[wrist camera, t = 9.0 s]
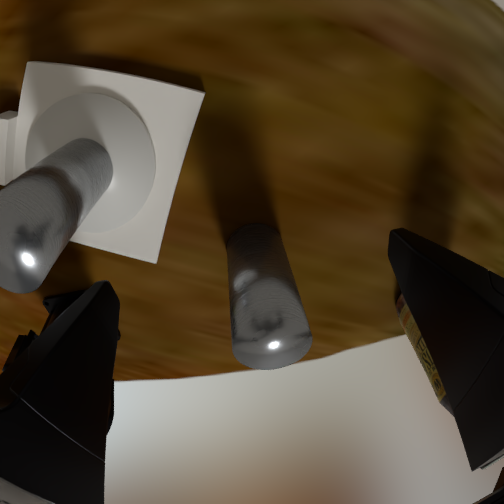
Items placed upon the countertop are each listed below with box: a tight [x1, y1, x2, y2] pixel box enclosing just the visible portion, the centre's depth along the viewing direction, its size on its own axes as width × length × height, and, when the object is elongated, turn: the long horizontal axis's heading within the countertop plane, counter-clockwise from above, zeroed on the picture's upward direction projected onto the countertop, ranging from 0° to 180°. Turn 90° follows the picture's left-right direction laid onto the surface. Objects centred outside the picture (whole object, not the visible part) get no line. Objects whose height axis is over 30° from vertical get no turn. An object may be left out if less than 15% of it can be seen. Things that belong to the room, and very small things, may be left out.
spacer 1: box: [0, 138, 113, 293], centre depth 14 cm, size 4×4×10 cm
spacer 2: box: [227, 223, 312, 370], centre depth 21 cm, size 4×4×10 cm
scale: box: [0, 61, 206, 264], centre depth 19 cm, size 13×15×2 cm
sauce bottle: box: [396, 293, 504, 469], centre depth 22 cm, size 6×6×20 cm
